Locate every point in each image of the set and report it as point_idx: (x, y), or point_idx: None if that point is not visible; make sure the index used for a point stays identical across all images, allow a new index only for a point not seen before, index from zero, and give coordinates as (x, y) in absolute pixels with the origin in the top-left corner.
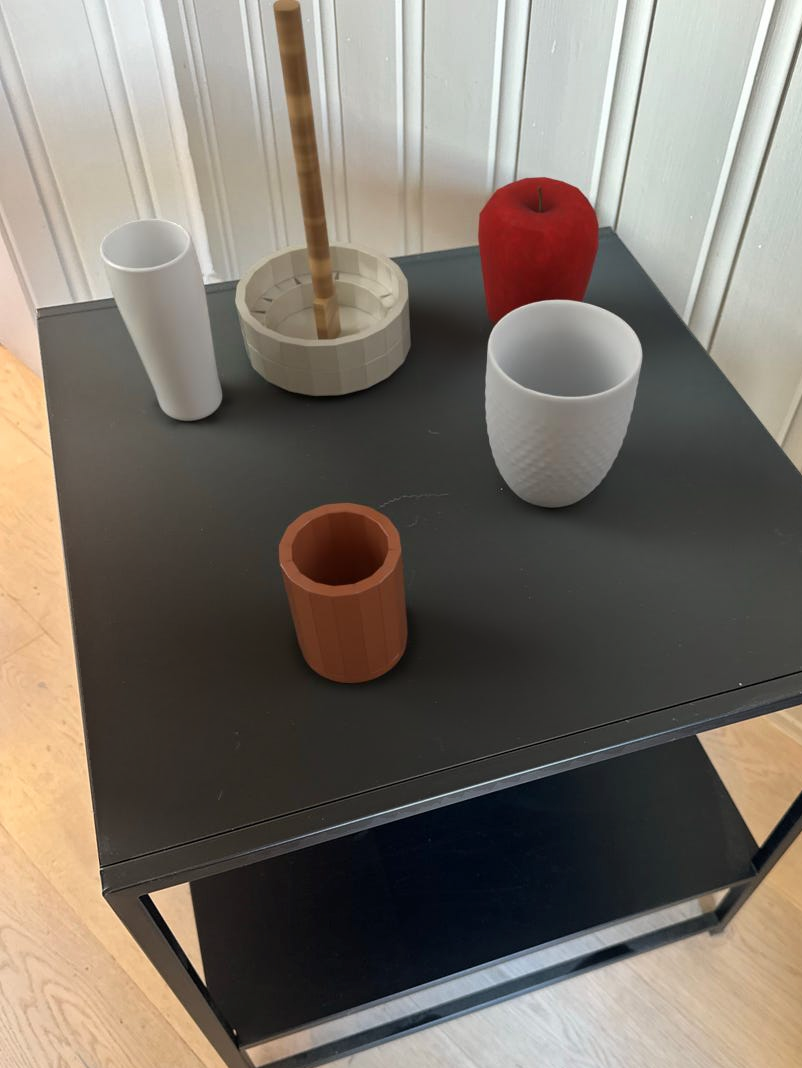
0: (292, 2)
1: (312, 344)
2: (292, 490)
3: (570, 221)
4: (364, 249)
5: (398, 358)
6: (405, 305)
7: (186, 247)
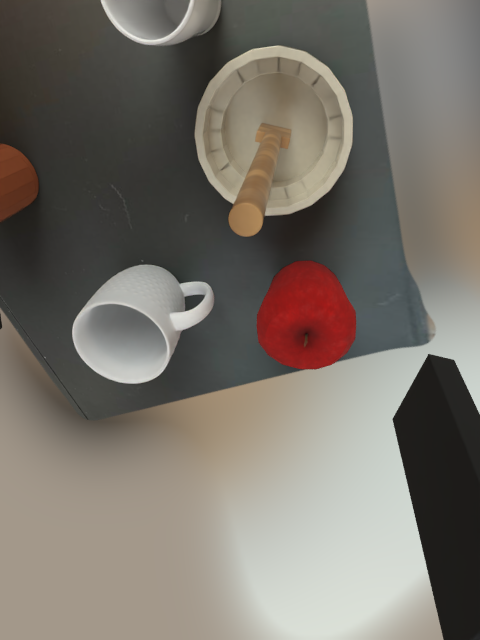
0: (251, 227)
1: (196, 139)
2: (112, 118)
3: (280, 356)
4: (336, 173)
5: None
6: None
7: (147, 40)
